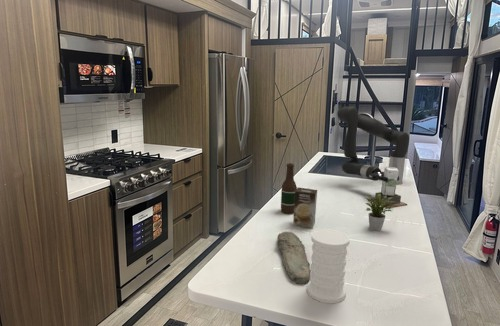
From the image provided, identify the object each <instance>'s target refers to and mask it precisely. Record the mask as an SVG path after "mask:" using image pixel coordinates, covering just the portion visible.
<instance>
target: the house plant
mask: <svg viewBox="0 0 500 326" xmlns="http://www.w3.org/2000/svg"><path fill="white" fill-rule="evenodd" d="M377 193H378V195H377V200H376V203H375V202H374V201H375V200H374V199H373V198H374V197H373V196H372V195H371V194H369V196H367V197H364V199H366V200H367V201H368V202H366V203H365V205H367V206H369V207H366V209H365V211H366V212H368V211H370V212H368V215H367V216H368V223H369V224H368V227H369V228H368V229H370V230H371V231H377V232H378V231H382V230H383V227H384V222H385V219H386V212H392V208H385V207H387V206H392V205H391V204H389V203H388V201H389V200H390V199H391V198H389V199H387V200H386V201H385V202H383V200H384V198H385V197H386V196H387V195H386V196H385V197H384V198H382V199H381V194H379V191H378V192H377ZM392 198H393V197H392ZM370 199H371V200H372V201H371V200H370ZM380 200H381V201H380ZM382 202H383V203H382ZM386 202H387V205H384V204H386ZM391 202H394V201H391ZM381 204H382V205H381ZM380 205H381V206H380ZM395 206H398V205H395Z"/></svg>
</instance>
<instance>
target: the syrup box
mask: <svg viewBox="0 0 500 326" xmlns="http://www.w3.org/2000/svg"><path fill="white" fill-rule="evenodd" d="M383 172H384V175H383V176H384V177H387V178H388V182H385V181H382V184H381V190H380V192H381V193H382V194H383V195H387V196H395V194H396V189H397V185H398V184H397V178H398V172H399V171H398V169H397V168H392V167H389V166H384V169H383Z"/></svg>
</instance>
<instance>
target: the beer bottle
mask: <svg viewBox="0 0 500 326" xmlns="http://www.w3.org/2000/svg"><path fill="white" fill-rule="evenodd" d="M294 167H295V165H294V163H290V162H289V163H287V164H286V174H285V179H284V181H283V182H282V184H281V193H280V195H281V196H280V211H281V213H283V214H284V215H292V214H293V215H294V202H295V191H296V189H297V188H298V186H297V183H296V182H295V179H294V177H295V176H294Z"/></svg>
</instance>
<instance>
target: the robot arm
mask: <svg viewBox="0 0 500 326" xmlns="http://www.w3.org/2000/svg"><path fill="white" fill-rule="evenodd" d="M336 115H337V118H338V120H339V121H341V122H342V123H345V124H347V129H346V130H347V131H346V135H345V138H344V142H343V154H344V157H345V158H349V161H344V162H343V163H342V164H341V169H342V171H343V172H344V173H345V174H348V175H355V176H356V175H357V176H360V177H363V178H364V179H367V180H371V181H374V182H376V181H377V182H378V181H382V182H383V181H385V182H388V178H387V177H384V176H383V175H384V171H382V170H381V168H379V167H378V166H373V165H370V164H364V163H360V161H359V158H358V155H357V131H358V129H360V130H362V131H364V132H366V133H367V134H370V135H372V136H375V137H376V138H381V139H383V140H385V141H386V142H388V143H389V144H391V145H393V146H395V149H394V150H391V151H389V152H390V153H389V161H388V167H392V168H397V169H398V171H399V172H398V178H397V184H396V185H401V184H403V178H404V171H405V165H406V164H405V163H406V155H407V153H408V151H409V150H408V149H409V145H410V136H409V133H408V132H405V131H401V130H395V129H392V128H389V127H387V126H386V125H385V123H383V122H382V121H380V120H378V119H376V118H373V117H370V116H366V115H361V114H359V110H358V108H356V107H355V106H343V107H340V108H339V109H338V110H337V114H336Z"/></svg>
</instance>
